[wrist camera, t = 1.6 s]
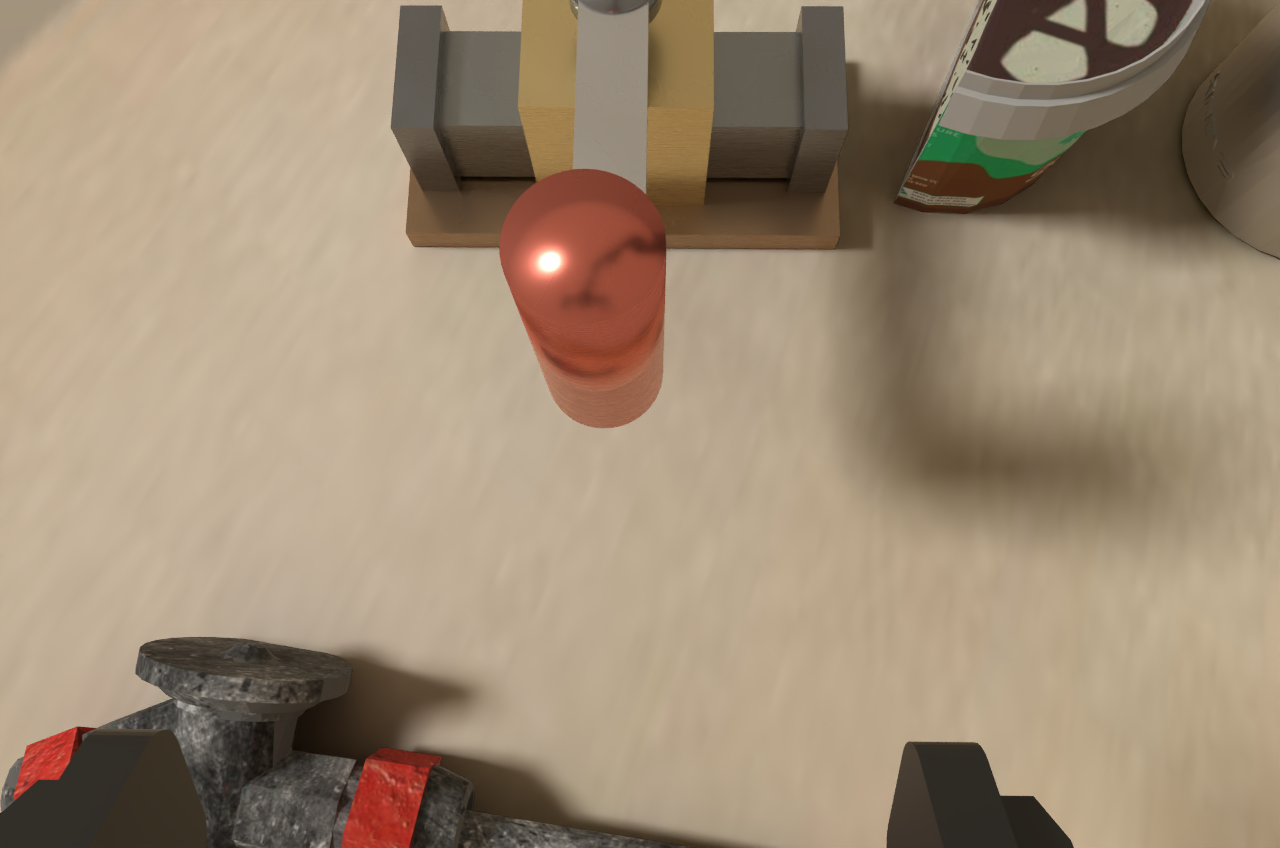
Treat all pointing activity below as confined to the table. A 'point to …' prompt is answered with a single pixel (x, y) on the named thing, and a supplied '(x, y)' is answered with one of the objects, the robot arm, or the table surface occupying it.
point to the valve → (295, 761)
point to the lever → (596, 234)
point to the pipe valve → (676, 124)
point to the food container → (1039, 91)
